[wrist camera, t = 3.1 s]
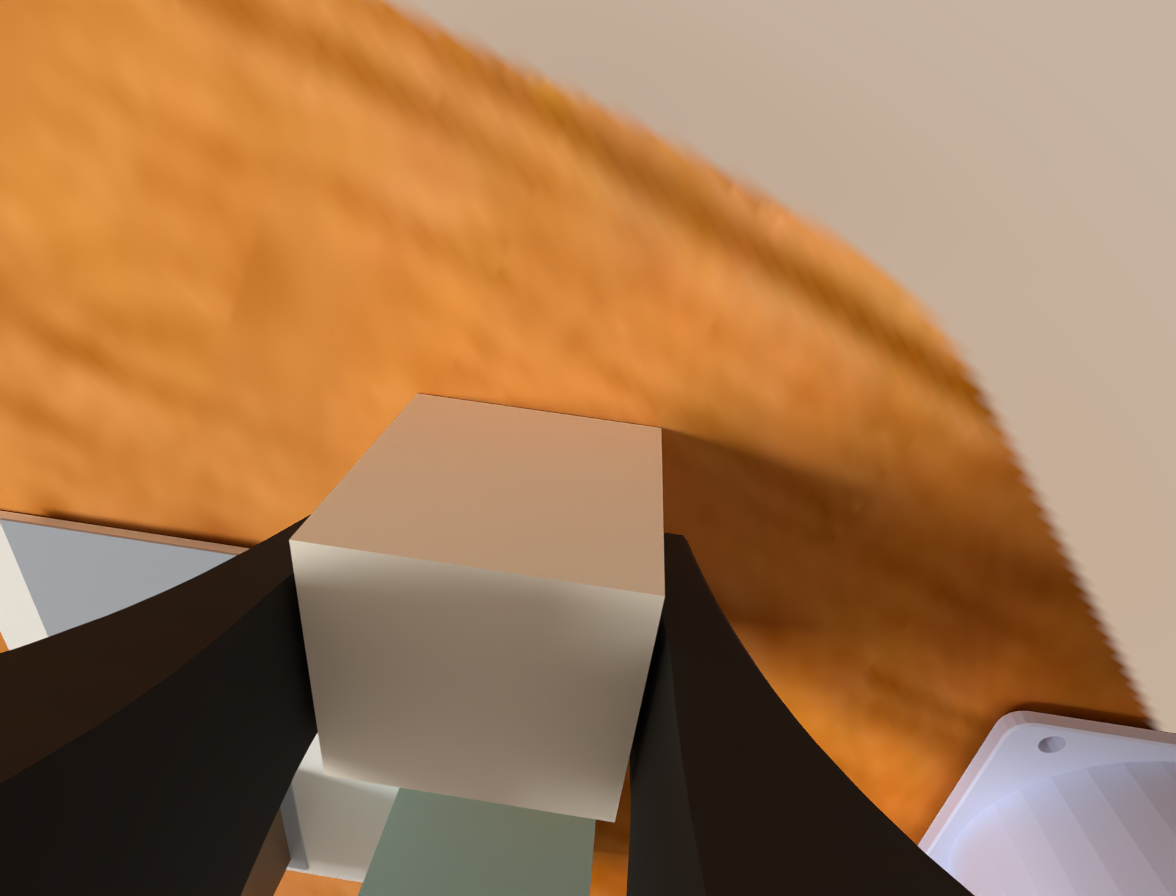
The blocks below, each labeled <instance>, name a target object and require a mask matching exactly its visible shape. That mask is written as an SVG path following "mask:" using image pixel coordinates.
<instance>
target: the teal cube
mask: <svg viewBox="0 0 1176 896" xmlns="http://www.w3.org/2000/svg"><path fill="white" fill-rule="evenodd" d="M595 824H596V819H590V818H584V817H577V816H571V815H565V814H559V813H553V812H547V811H541V810H535V809H528V808H522V807H516V806H510V805H504V804H498V803H492V802H486V801H479V800H473V799H467V798H461V797H455V796H449V795H443V794H437V793H430V792H424V791H418V790H412V789H406V788H400V787H399V790H398V793H397V795H396V798H395V800H394V803H393V806H392V808H391V811H390V813H389V816H388V819H387V821H386V824H385V826H384V829H383V832H382V834H381V837H380V840H379V842H378V845H377V847H376V850H375V853H374V855H373V858H372V860H371V863H370V866H369V868H368V871H367V873H366V876H365V879H364V881H363V884H362V886H361V889H360V892H359V894H358V896H589V895H590V884H591V872H592V860H593V848H594V836H595Z"/></svg>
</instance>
